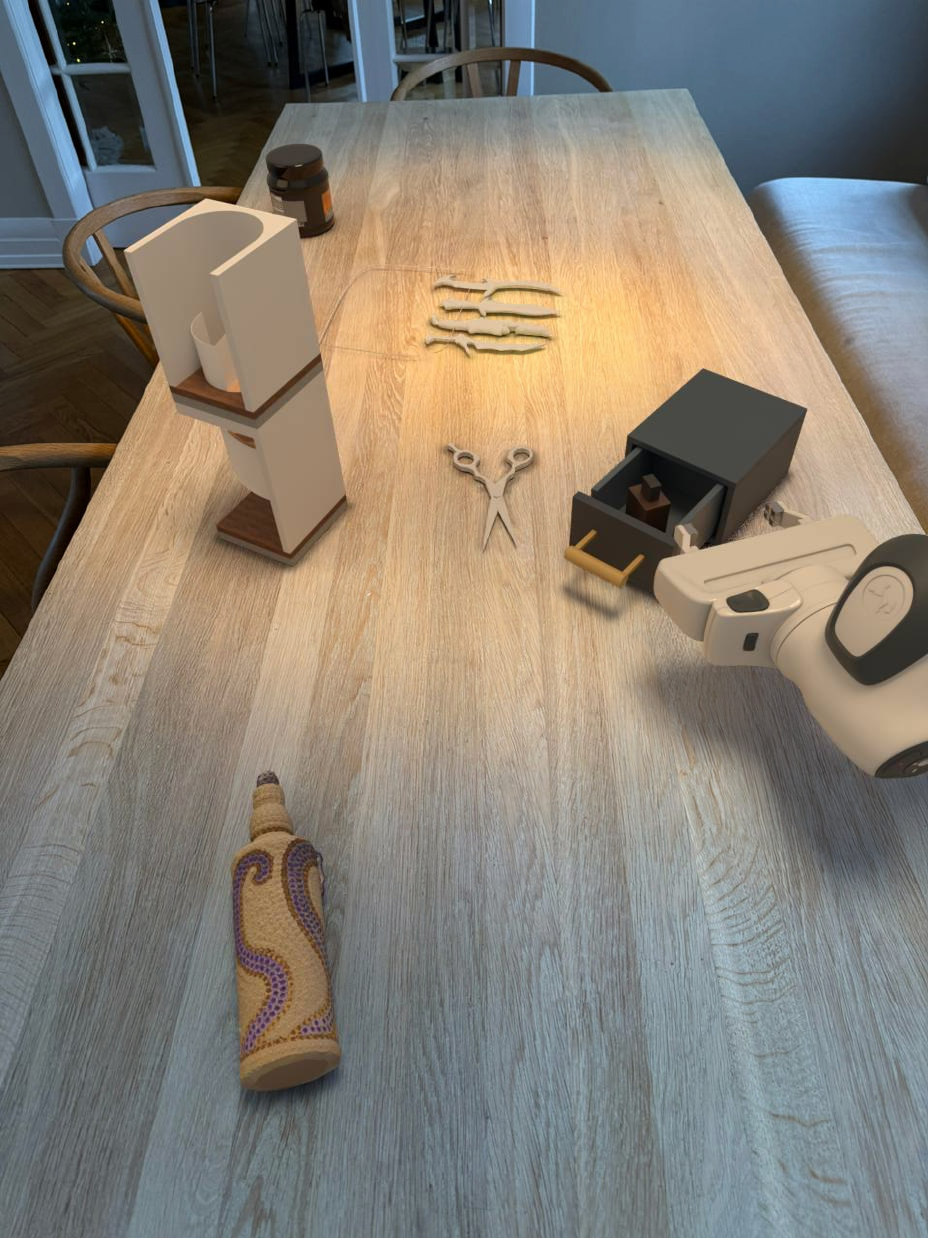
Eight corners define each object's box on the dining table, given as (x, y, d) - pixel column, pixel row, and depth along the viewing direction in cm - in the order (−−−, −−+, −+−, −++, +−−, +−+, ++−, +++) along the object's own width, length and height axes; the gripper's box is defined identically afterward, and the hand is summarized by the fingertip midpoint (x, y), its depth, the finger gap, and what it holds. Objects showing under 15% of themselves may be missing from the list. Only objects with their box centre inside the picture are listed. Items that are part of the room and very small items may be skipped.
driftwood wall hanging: (547, 371, 124) (547, 364, 123) (311, 351, 129) (310, 344, 129) (570, 280, 140) (571, 273, 139) (360, 265, 146) (359, 259, 145)
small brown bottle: (663, 547, 98) (674, 488, 91) (638, 554, 97) (648, 495, 91) (646, 524, 100) (655, 465, 94) (622, 531, 100) (630, 472, 93)
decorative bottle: (351, 1077, 65) (338, 1051, 60) (250, 1101, 65) (227, 1077, 60) (318, 780, 82) (305, 741, 77) (236, 796, 81) (218, 758, 76)
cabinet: (719, 548, 100) (736, 483, 93) (618, 499, 106) (627, 435, 99) (787, 473, 108) (807, 408, 101) (690, 432, 114) (702, 367, 107)
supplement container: (341, 212, 159) (331, 142, 150) (327, 240, 152) (316, 168, 143) (285, 210, 161) (272, 140, 151) (268, 238, 154) (254, 166, 145)
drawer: (637, 626, 92) (646, 574, 86) (541, 573, 97) (544, 521, 91) (734, 520, 102) (748, 467, 96) (643, 478, 107) (650, 425, 101)
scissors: (530, 437, 113) (547, 545, 100) (530, 442, 114) (547, 550, 101) (448, 442, 113) (454, 550, 100) (448, 447, 114) (454, 555, 100)
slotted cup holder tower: (277, 481, 111) (206, 198, 84) (348, 506, 107) (296, 218, 81) (220, 538, 104) (123, 250, 78) (293, 566, 101) (217, 275, 74)
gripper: (924, 560, 74) (831, 468, 84) (703, 618, 71) (631, 516, 80) (902, 612, 79) (816, 519, 88) (692, 670, 75) (626, 567, 85)
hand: (726, 518), depth 84 cm, fingers open, 8 cm apart
